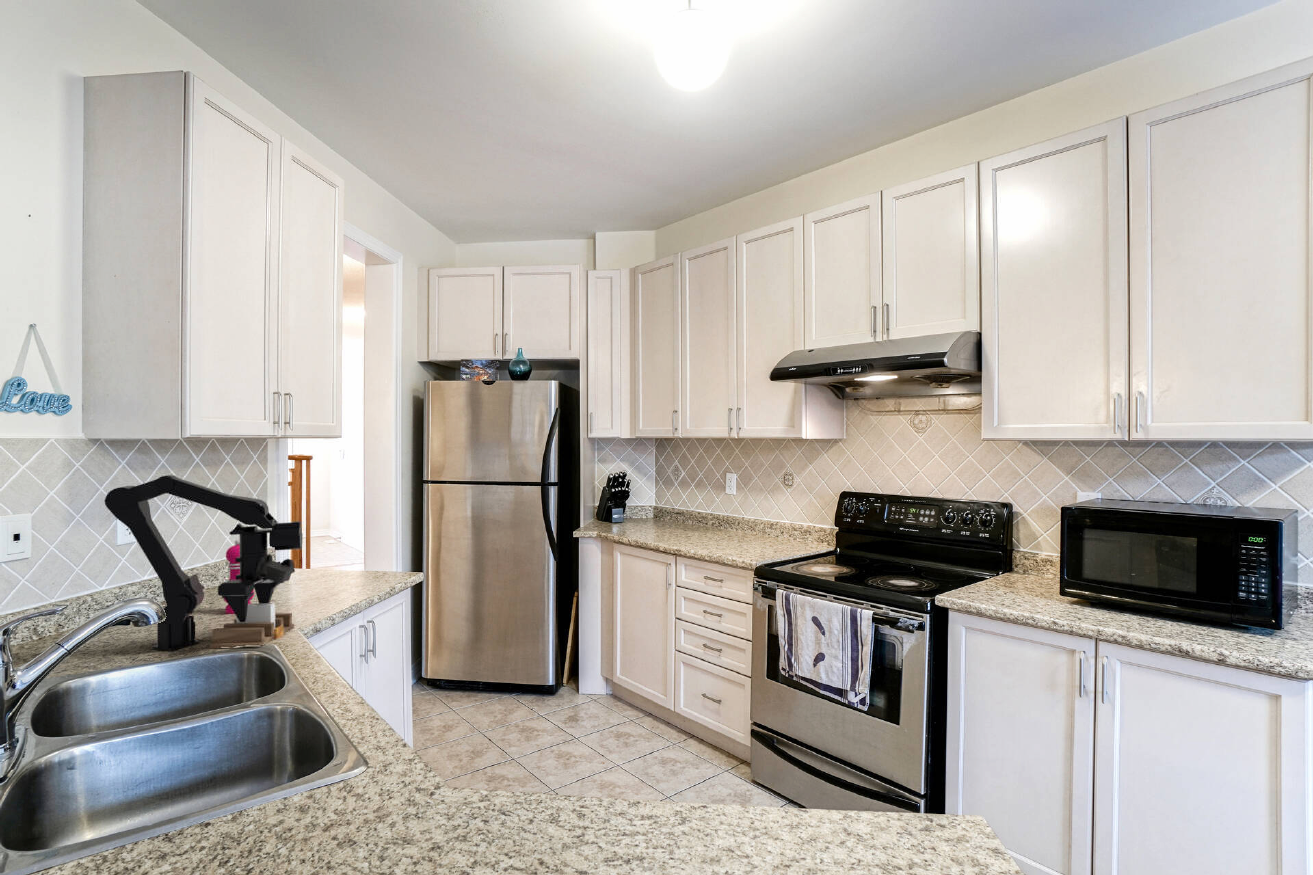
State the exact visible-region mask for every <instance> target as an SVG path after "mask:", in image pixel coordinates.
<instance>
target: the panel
mask: <svg viewBox="0 0 1313 875" xmlns="http://www.w3.org/2000/svg"><path fill="white" fill-rule="evenodd" d="M275 613H276V603H275V602H274V603H273V602H270V603H259V602H258V603H252V604H248V608H247V616H246V621H245V622H240V621H239V619H238V618H237V616H236V615H235V616H236V618H235V619H236V623H272V622H274V629H275Z"/></svg>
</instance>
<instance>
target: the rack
mask: <svg viewBox="0 0 1313 875" xmlns="http://www.w3.org/2000/svg"><path fill="white" fill-rule="evenodd" d="M233 621H234V622H233V623H232V622H230V623H225V624H223V628H222V627H220V628H218V627H217V628H213V629H212V634H211V635H212V643H210V644H209V650H216V649H215V648H221V647H236V646H246V645H262V644H264V643H267V642H268V643H270V642H272V641H273V639H274V640H278V639H279V638H281V637H283V636H284V634H286V633H288V632H289V631H291V630H293V629H294V628H295V623H293V613H292V612H285V613H283V612H281V613H280V612H277V613H276V612H275V629H274V622H272V623H236V618H235V619H234V620H233ZM269 641H270V642H269ZM268 643H267V644H268Z"/></svg>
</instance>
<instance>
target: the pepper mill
mask: <svg viewBox="0 0 1313 875" xmlns="http://www.w3.org/2000/svg"><path fill="white" fill-rule="evenodd" d="M238 557H240V538H238V539H235V541H234V545H232V546H230V547H229V548H227V550H226V553H225V558H226V560H227V561H228V564H227V565H228V567H227V569H229V573H230V574H229V579H228V581H229V580H236V575H238V574H240V562H236V558H238ZM251 593H254V594H253V595H252V596H251V597H250V598H249V600H248V604H253V602H251V601H252V599H254V596H255V588H254V589H253V591H252V592H251ZM223 601H224V602H225V603H226V604H227V605H226V606H225V613H226V614H229V615H230V614H233V615H235V613H234V611H233V609H232V608H231V607H230V605H229V604H228V602H227V601H226V600H225V598H223Z"/></svg>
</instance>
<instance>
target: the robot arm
mask: <svg viewBox="0 0 1313 875" xmlns="http://www.w3.org/2000/svg"><path fill="white" fill-rule="evenodd" d="M165 494H169V495H172V496H174V497H178V498H181V499H183V500H187V501H189V502H194V503H196V504H200V505H201V506H202V505H203V506H205V507H209V508H212V509H215V510H218V511H221V512H222V513H224V514H226V515H227V516H228V517H230V518H232V519H234V520H235V521H237V522H239V523H237V524H235V525H236V526H235V527H234V528H233V529H232V530H231V531H229V535H230V536H234V535H239V539H240V557H238V558H236V562H240V574H238V575H236V580H229V579H228V580H226V581H224V582H221V583H220V584H219V585H218V586H217V596H219V597H220V596H221V599H224V598H225V600H226V601H227V602H228V603H227V605H228V604H229V605H230V607H231V608H232V609H233V611H234V613H235V614H234V615H235V616H237V618H238V619H239V621H240V622H245V621H246V616H247V608H248V600H249V598H250V597H251V596H252V595H253V594H254V595H255V594H256V598H257V602H258V603H271V600H272V597H273V594H274V592H275V589H276V588H277V587H279V585H280V584H284V582H289V581H290V579H291V576H292V574H294V573H295V572H296V570H295V565H294V564H295V562H294V560H293V559H291V558H286V559H283V561H282V562H281V561H274V560H273V555H272V553H268V542H269V547H270V548H273V549H274V550H275V552H276V551H289V550H302V548H303V540H304V539H303V536H304V535H303V532H302V525H301V523H302V522H301V521H300V520H297V521H296V520H295V521H291V522H278V521H277V520H276V518H274V516H273V515H272V514H271V513H270V512H269V511H270V509H269V506H268V504H267V502H265V501H264V500H263V499H259V498H255V497H253V498H252V497H249V496H239V495H232V494H228V493H225V492H222V491H218V490H216V489H213V488H209V487H206V486H203V485H201V484H197V483H194V482H191V481H188V480H184V479H182V478H179V477H178V476H176V475H173V474H168V475H161V476H159V477H158V478H156V479H153V480H151V481H147V482H144V483H141V484H137V485H136V486H135V485H125V486H120V487H119V486H118V487H116V488H113V489H112V490H110V491H109V492H108V493H107V494H106V495H105V499H104V505H105V507H106V508H107V510H109V511H110V513H111V514H112V515H113V516H114V517H115V518H116V519H117V520H119V521H120V522H121V523H122V524H123V525H124V526H126V527H127V528H128V529H129V531H130V532H131V534H132V535H133V537H134V539H135V540H136V542H137V544H138V545H139V547H140V548H141V549H140V550H142V552H143V554H144V555H145V557H146V558H147V560H148V563H150V565H151V566H152V568H153V570H154V572H155V573H156V575H157V577H158V578H159V580H160V583H161V588H162V594H163V598H164V601H165V604H166V606H164V607H163V609H164V610H165V613H166V616H167V617H166V619H165V621H163V622H161V623H158V624H157V628H156V629H157V632H156V633H157V635H156V637H157V638H156V639H157V640H156V641H157V644H155V645H152V649H153V650H154V649H155V650H164V651H170V652H171V651H175V650H180V649H183V648H185V647H189V646H193V645H194V644H198V643H199V642H200V641H199V639H196V622H195V619H194V618H195V617H194V615H192V614H194V610H195V609H197V607H198V606H200V605H201V604H202V602H203V600H204V599H205V598H204V597H205V593H204V589H205V588H206V587H205V586H204V585H202V583H200V580H199V577H198V575H197V574H196V573H194V574H192V575H191V576H190V575H188V574H187V573H185V572H184V570H182V567H181V566H180V564H179V562H178V561H177V560H176V558H175V557H174V554H173V553H172V551H171V549H170V548H169V546H168V545H167V543H166V541H165V539H164V538H163V536H162V534H161V533H160V531H159V530H158V528H157V526H156V524H155V523H154V520H153V519H152V515H151V509H150V508H151V507H150V506H151V505H150V504H149V500H152V499H154V498H157V497H159V496H162V495H165ZM241 523H242V524H243V525H246V526H243V525H242V524H241ZM258 527H259V528H260V529H258ZM268 534H269V535H268ZM268 536H269V538H268ZM253 589H254V593H251V592H252V591H253Z"/></svg>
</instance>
